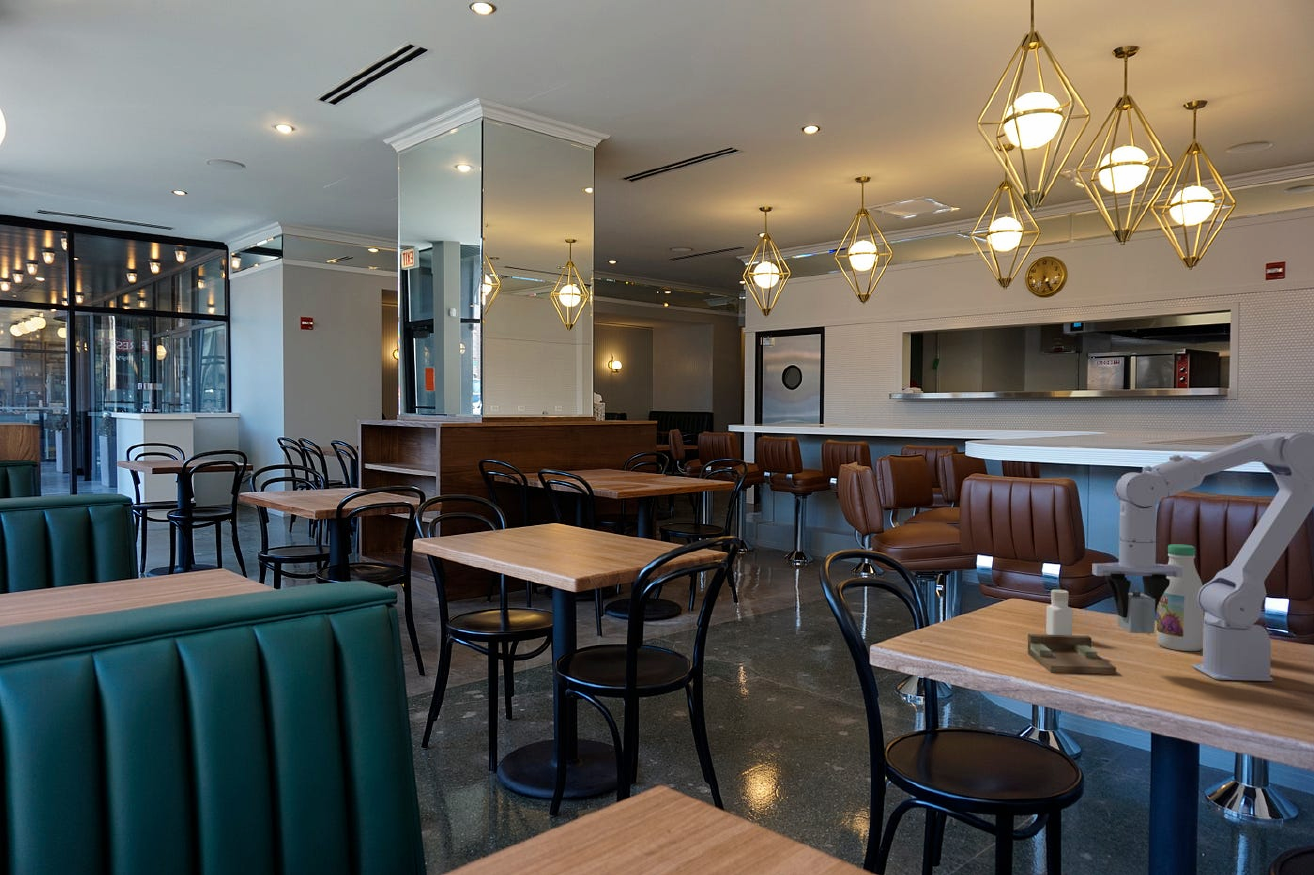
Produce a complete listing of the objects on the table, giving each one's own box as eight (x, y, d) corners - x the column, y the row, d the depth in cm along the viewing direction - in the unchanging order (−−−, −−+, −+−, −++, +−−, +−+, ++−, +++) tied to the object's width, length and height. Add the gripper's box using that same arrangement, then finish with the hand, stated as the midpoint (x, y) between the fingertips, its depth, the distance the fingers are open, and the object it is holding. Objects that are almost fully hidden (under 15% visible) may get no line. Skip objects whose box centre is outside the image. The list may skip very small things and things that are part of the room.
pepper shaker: (1073, 640, 173) (1074, 593, 173) (1053, 639, 173) (1054, 593, 173) (1064, 634, 177) (1065, 589, 177) (1044, 634, 177) (1045, 589, 177)
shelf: (1087, 655, 162) (1088, 635, 162) (1115, 674, 150) (1116, 653, 150) (1027, 653, 163) (1028, 634, 163) (1050, 672, 151) (1051, 651, 151)
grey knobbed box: (1140, 625, 155) (1141, 588, 155) (1161, 636, 148) (1162, 597, 147) (1117, 625, 155) (1118, 588, 155) (1136, 636, 148) (1137, 597, 148)
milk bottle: (1190, 642, 172) (1192, 542, 171) (1210, 652, 164) (1213, 548, 164) (1149, 641, 173) (1151, 542, 172) (1168, 651, 165) (1170, 548, 164)
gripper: (1168, 537, 156) (1167, 612, 156) (1085, 536, 157) (1084, 610, 157) (1189, 543, 149) (1187, 621, 149) (1102, 542, 150) (1100, 619, 150)
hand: (1136, 616), depth 153 cm, fingers closed on grey knobbed box, 4 cm apart
